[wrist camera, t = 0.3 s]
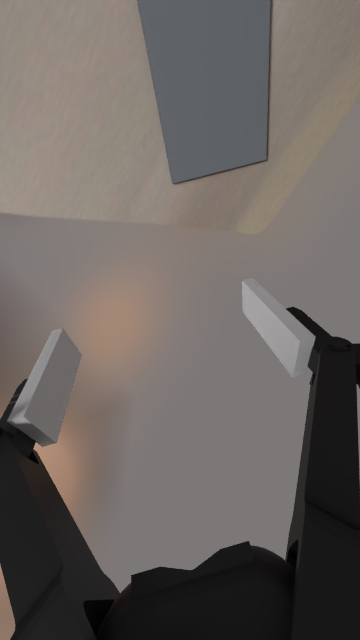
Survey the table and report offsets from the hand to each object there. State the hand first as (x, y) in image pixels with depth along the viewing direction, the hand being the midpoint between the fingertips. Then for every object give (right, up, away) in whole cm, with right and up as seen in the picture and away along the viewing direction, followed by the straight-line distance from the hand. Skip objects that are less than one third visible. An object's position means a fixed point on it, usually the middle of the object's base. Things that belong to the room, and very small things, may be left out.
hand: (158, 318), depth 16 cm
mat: (+6, +34, +13) cm, 37 cm away
